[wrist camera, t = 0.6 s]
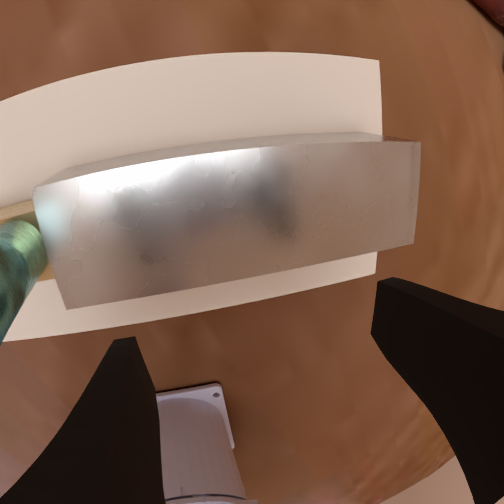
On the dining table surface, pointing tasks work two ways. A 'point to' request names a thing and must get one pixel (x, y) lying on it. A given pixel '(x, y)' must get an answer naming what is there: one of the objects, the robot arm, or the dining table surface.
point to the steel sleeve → (224, 212)
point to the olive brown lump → (493, 9)
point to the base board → (177, 134)
